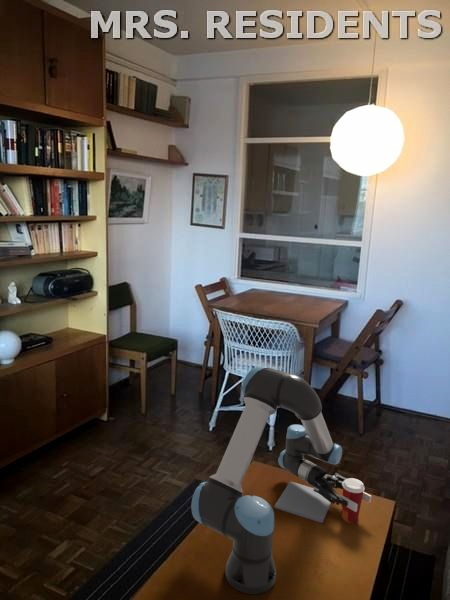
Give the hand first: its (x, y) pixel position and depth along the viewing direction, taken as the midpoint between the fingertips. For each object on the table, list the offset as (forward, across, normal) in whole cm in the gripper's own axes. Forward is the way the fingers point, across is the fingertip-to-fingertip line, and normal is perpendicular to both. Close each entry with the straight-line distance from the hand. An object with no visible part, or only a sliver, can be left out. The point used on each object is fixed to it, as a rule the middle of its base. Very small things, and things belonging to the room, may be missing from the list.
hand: (363, 503), depth 171 cm
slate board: (-21, +6, -8) cm, 23 cm away
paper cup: (-5, 0, -9) cm, 10 cm away
